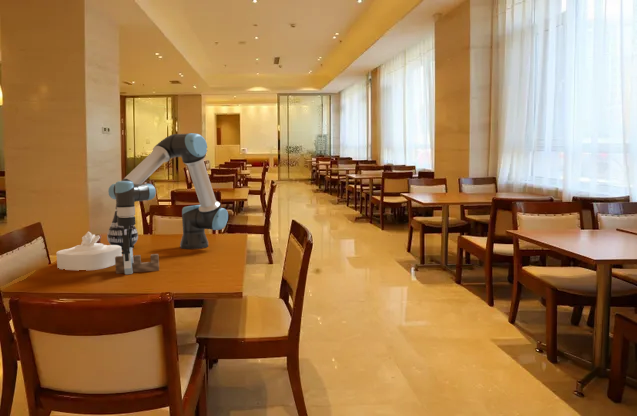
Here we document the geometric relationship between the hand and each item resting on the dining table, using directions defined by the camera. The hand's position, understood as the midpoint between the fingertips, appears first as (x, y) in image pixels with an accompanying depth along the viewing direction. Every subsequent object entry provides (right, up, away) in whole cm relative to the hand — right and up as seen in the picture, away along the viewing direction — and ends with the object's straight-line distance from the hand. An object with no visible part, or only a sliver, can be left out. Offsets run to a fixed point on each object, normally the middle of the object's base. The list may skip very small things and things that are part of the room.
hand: (128, 265), depth 233 cm
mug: (-34, +1, +40) cm, 52 cm away
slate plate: (0, -3, 0) cm, 3 cm away
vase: (-24, +3, +58) cm, 63 cm away
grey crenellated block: (+4, -3, +1) cm, 5 cm away
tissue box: (-25, -2, +18) cm, 31 cm away
